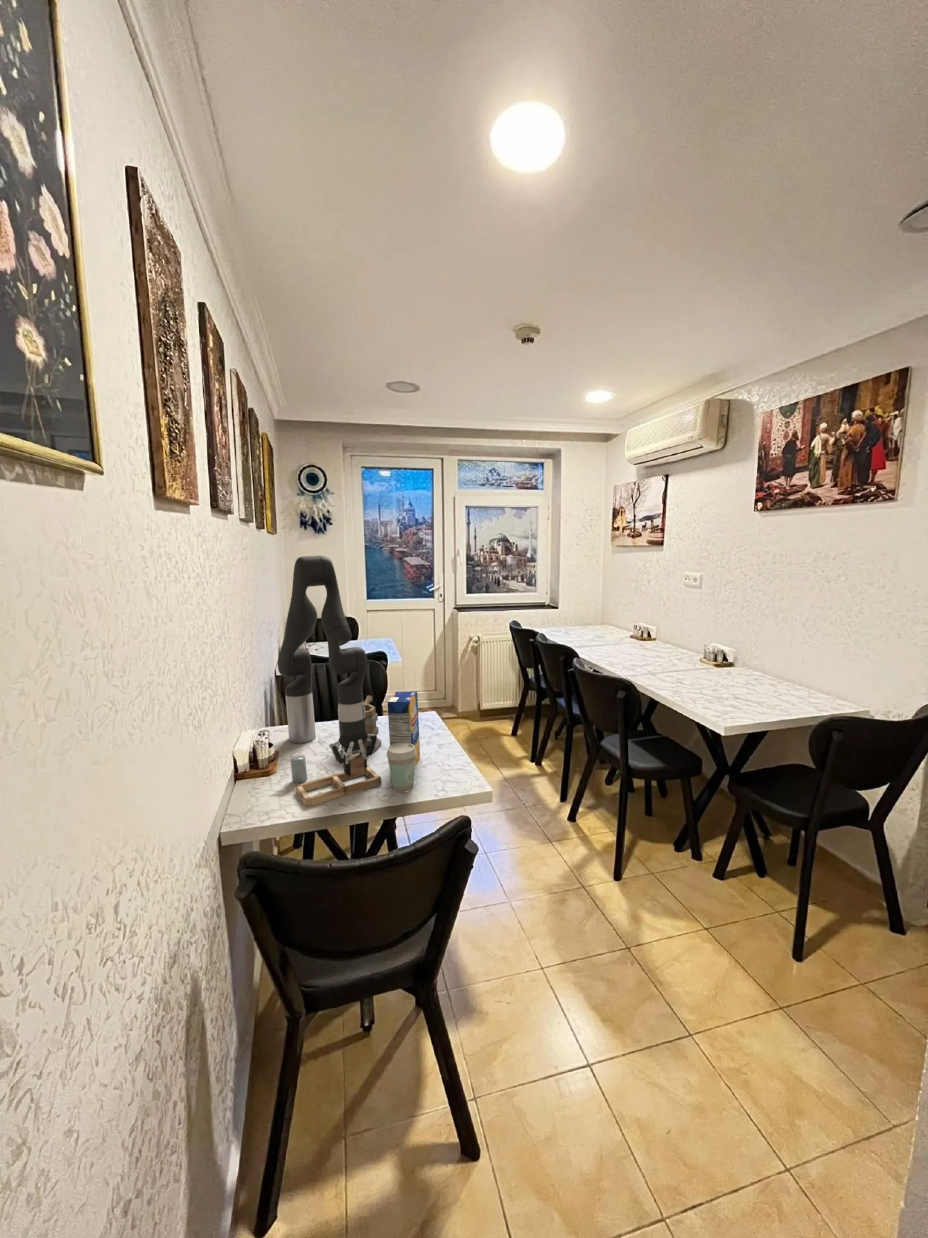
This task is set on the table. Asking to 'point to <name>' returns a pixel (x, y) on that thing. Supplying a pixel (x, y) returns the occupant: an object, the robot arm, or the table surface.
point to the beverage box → (404, 720)
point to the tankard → (370, 724)
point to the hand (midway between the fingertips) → (355, 772)
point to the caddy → (337, 781)
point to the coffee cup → (402, 766)
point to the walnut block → (356, 765)
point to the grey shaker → (298, 769)
